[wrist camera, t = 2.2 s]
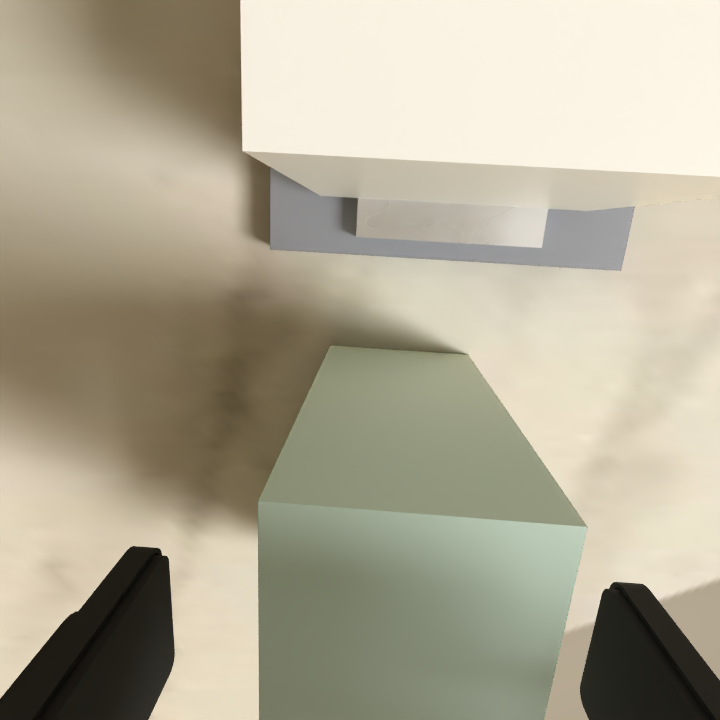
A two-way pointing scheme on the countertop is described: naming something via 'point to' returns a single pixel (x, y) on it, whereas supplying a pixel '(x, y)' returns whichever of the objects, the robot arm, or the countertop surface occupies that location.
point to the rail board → (479, 123)
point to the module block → (410, 550)
